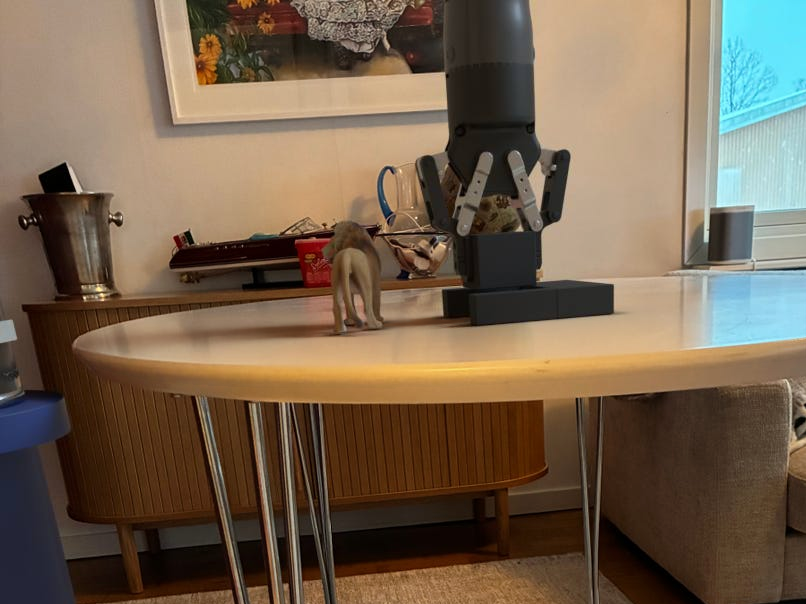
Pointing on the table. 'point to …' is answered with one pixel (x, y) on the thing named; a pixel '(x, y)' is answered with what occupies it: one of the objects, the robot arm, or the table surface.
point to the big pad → (529, 302)
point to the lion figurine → (354, 275)
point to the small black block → (503, 260)
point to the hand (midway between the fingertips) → (498, 278)
